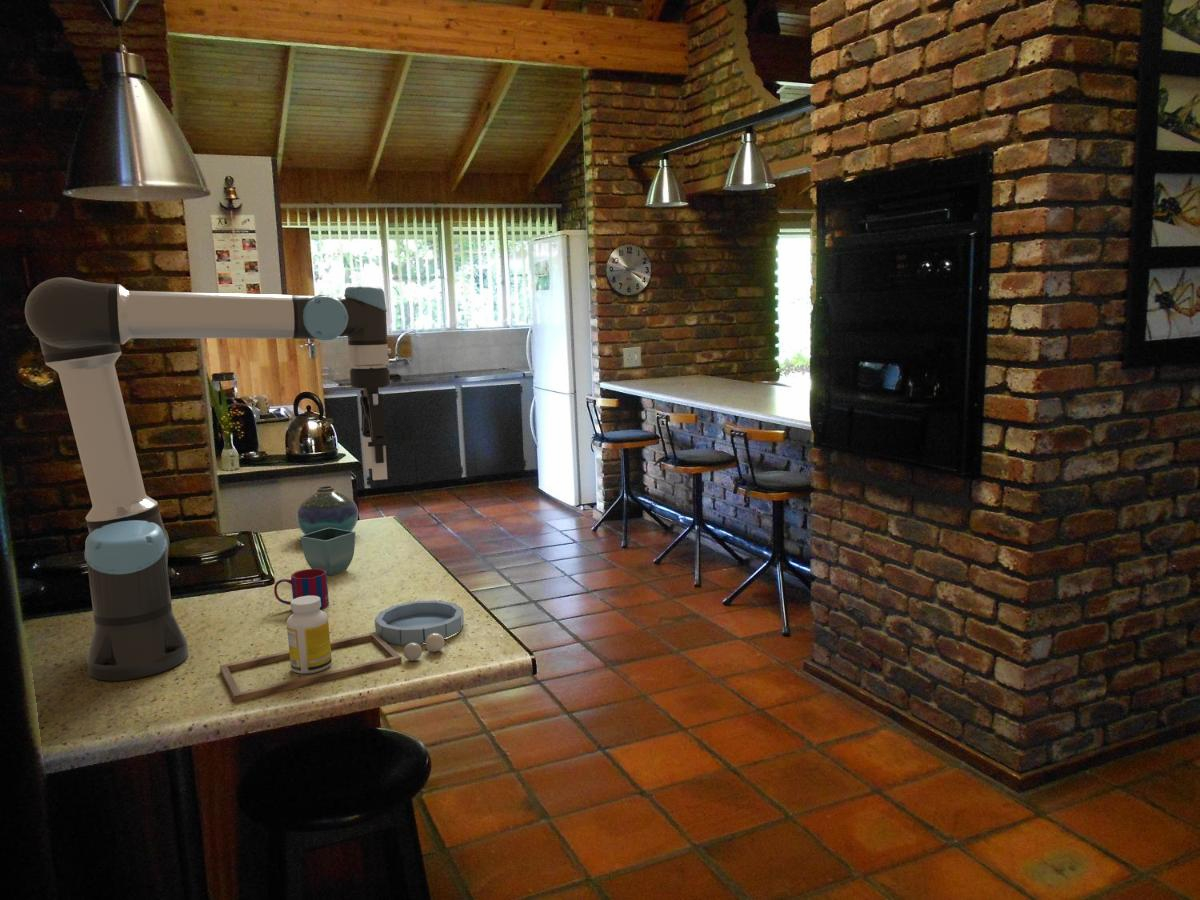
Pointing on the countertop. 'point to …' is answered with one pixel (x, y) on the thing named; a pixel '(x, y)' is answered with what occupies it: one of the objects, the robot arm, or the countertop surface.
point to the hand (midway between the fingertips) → (375, 473)
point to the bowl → (418, 621)
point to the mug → (307, 585)
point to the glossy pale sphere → (412, 651)
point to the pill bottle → (308, 636)
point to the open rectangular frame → (308, 680)
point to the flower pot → (329, 549)
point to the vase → (327, 511)
